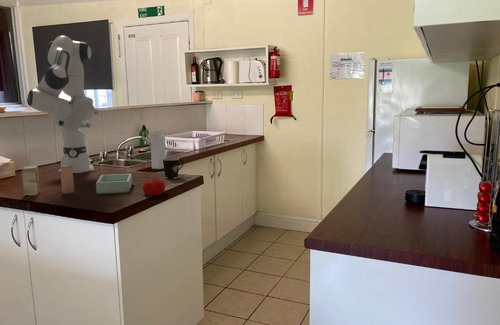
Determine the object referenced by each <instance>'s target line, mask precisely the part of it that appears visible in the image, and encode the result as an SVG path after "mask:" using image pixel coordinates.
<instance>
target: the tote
mask: <svg viewBox="0 0 500 325" xmlns="http://www.w3.org/2000/svg"><path fill="white" fill-rule="evenodd" d="M132 176H133V175H132V173H118V174H117V173H115V174H113V173H112V174H111V173H110V174H101V175H99V178H98V180H97V181H96V183H95V188H96V189H95V190H96V194H97V195H98V194H99V195H101V194H121V193H130V192H131V189H130V188H132V184H133V178H132Z"/></svg>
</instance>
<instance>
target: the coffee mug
mask: <svg viewBox="0 0 500 325" xmlns="http://www.w3.org/2000/svg"><path fill="white" fill-rule="evenodd" d="M180 162H182V164H181V166H180ZM163 165H164V168H163V172H164V177H168V178H174V177H178V178H179V171H180V170H181V169H182V168H183V167H184V160H182V159H180V158H178V157H166V158H164V159H163Z"/></svg>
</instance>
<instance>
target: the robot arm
mask: <svg viewBox="0 0 500 325" xmlns="http://www.w3.org/2000/svg"><path fill="white" fill-rule="evenodd" d="M46 47H47V49H46V52H47V61H48V63H49V64H50V65H51V66H50V67H48V68H47V69H46V71H45V73H44V75H43V77H42V79H41V80H40V82H39V83H38V85H37V86H36V87H35V88H33V89H30V90H29V92H28V93H27V97H26V102H27V105H28V106H29V107H30V108H32V109H34V110H35V111H36V110H37V112H41V113H44V114H48V117H49V118H50V120H52V121H53V122H54V123H56V124H57V127H59V129H60V131H61V135H62V139H63V140H62V141H63V147H62V153H63V155H62V156H61V157H60V161H61V162H60V166H64V165H72V168H73V174H81V173H86V172H91V171H92V172H93V171H95V169H94V165H93V164H91V161H90V156H89V155H88V153H87V146H86V140H85V133H84V130H82V128H87V129H88V128H89V129H90V127H91V125H92V124H91V123H88V122H90V121H91V122H92V121H93V120H94V119H95V117H96V115H98V114H99V113H100V110H99V109H96V107H95V106H94V100H93V98H91V97H88V96H86V94H85V91H84V90H85V87H84V86H85V85H84V83H85V82H84V81H85V72H84V66H85V65H86V64H87V63H88V62H89V61H90V60H91V56H92V49H91V46H90V45H89V43H88V42H84V41H76V40H72V39H71V37H69V36H66V35H58V36H57V37H56V38H55V39H54V40H52V41H49V42H48V44H47V46H46ZM62 92H63V93H64V94H65V95H67V96H68V97H70V100H67V99H64V98H62V97H59V96H60V95H61V93H62ZM85 122H86V123H85ZM58 173H61V172H60V169H58Z"/></svg>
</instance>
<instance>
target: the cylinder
mask: <svg viewBox="0 0 500 325" xmlns="http://www.w3.org/2000/svg"><path fill="white" fill-rule="evenodd" d="M59 168H60V169H59V170H60V172H59V173H60V182H61V193H62V194H67V195H68V194H72V193H75V184H74V183H75V182H74V173H73V168H72V165H64V166H61V165H60V166H59Z"/></svg>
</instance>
